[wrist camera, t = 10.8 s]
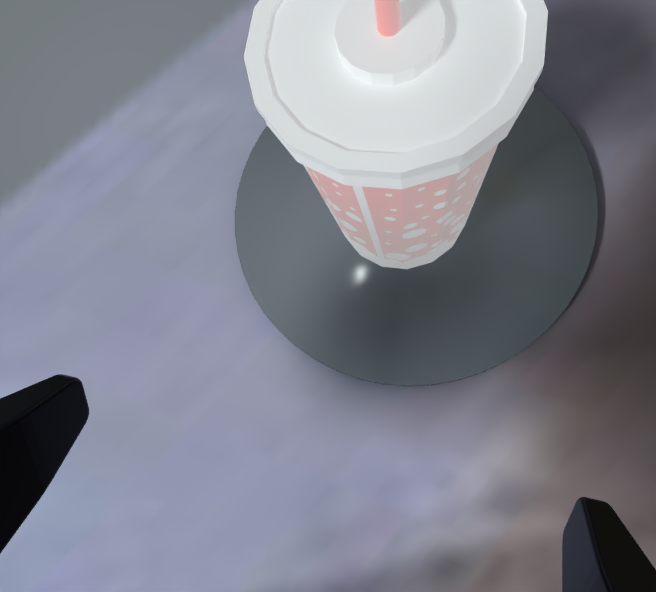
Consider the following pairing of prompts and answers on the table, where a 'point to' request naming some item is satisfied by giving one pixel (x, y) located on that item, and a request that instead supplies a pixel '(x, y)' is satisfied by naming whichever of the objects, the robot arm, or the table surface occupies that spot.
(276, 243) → the coaster
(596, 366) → the table surface
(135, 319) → the table surface
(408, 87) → the beverage cup
